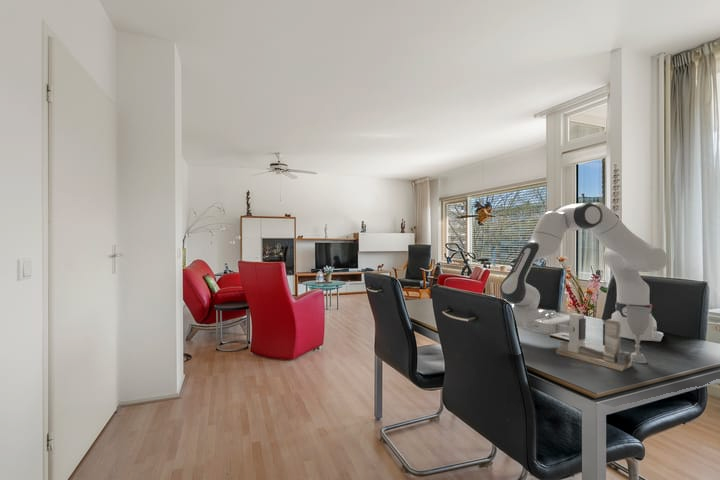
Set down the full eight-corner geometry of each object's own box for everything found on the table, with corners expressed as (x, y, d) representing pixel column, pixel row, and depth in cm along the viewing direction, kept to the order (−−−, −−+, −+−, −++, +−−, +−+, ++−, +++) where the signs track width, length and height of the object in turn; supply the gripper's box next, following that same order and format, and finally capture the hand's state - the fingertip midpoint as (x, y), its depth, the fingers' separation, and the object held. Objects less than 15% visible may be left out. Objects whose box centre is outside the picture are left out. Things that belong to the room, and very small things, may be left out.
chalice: (619, 357, 122) (619, 305, 122) (637, 356, 123) (638, 305, 123) (637, 364, 115) (637, 309, 115) (656, 364, 115) (657, 309, 115)
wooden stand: (567, 349, 130) (567, 310, 130) (631, 366, 113) (632, 321, 113) (556, 353, 125) (556, 313, 125) (621, 371, 109) (622, 324, 109)
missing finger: (575, 348, 126) (576, 312, 127) (586, 350, 123) (587, 314, 124) (567, 350, 123) (568, 314, 123) (578, 353, 120) (579, 316, 120)
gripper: (525, 315, 128) (564, 323, 117) (554, 309, 140) (592, 316, 128) (525, 332, 128) (564, 341, 117) (553, 325, 140) (592, 333, 128)
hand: (579, 328), depth 123 cm, fingers open, 7 cm apart
